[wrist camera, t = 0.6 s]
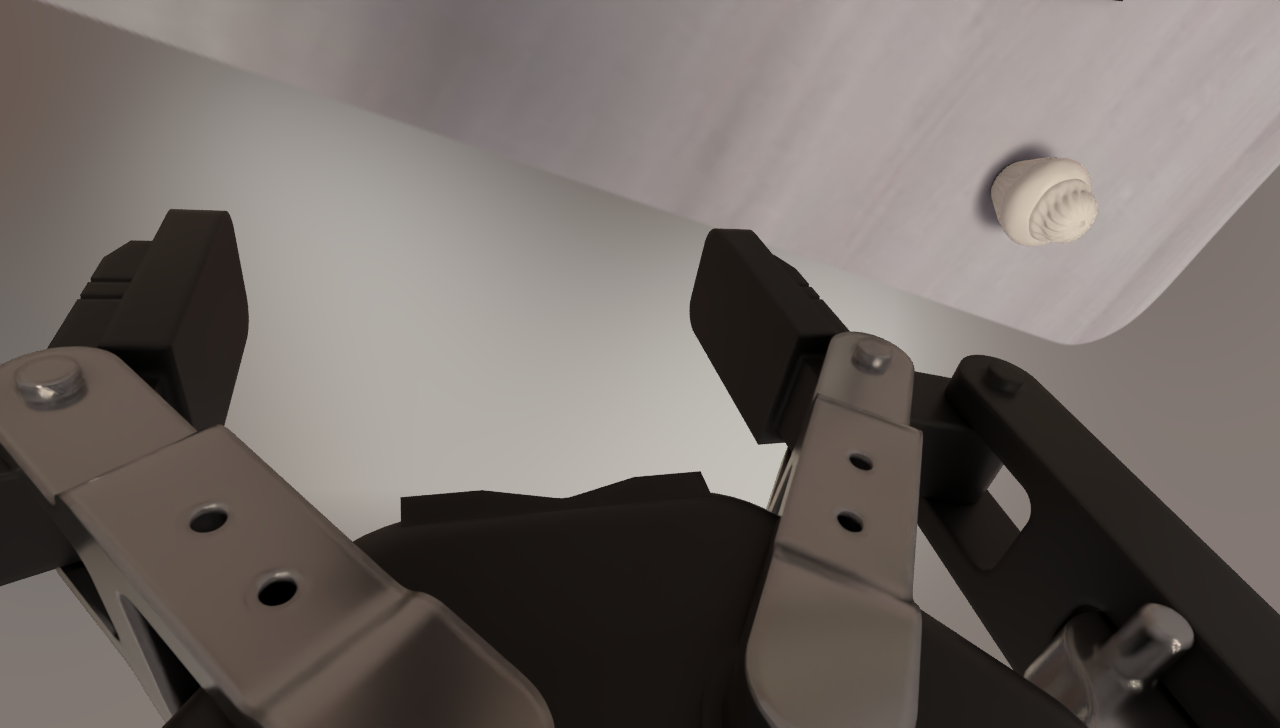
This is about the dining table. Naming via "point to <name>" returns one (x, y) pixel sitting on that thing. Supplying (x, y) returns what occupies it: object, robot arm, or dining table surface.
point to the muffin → (1044, 201)
